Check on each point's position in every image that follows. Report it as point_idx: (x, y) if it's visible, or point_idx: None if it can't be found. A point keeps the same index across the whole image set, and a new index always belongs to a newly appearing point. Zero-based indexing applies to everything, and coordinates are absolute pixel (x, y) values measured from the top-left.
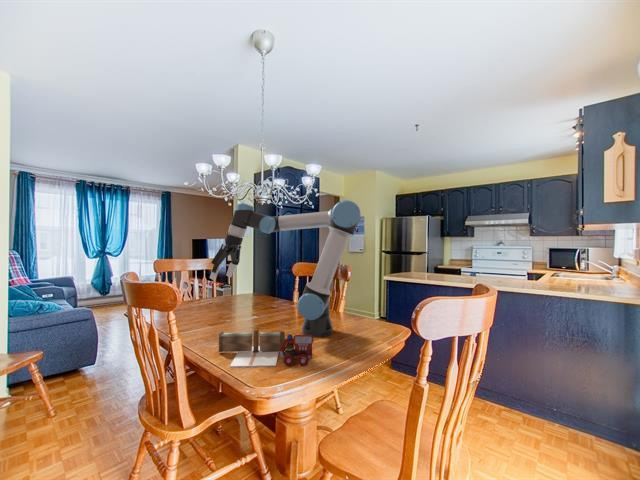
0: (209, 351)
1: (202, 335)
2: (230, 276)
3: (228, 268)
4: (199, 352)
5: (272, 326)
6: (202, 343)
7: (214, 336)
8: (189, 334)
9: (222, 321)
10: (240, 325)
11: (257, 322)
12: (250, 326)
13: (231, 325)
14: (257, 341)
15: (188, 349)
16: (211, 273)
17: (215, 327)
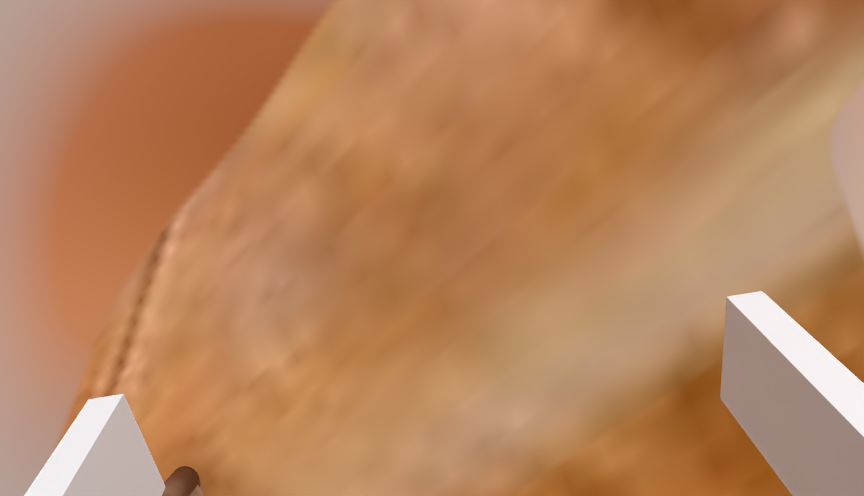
0: (182, 394)
1: (387, 131)
2: (728, 403)
3: (839, 417)
4: (144, 351)
5: (769, 472)
6: (264, 255)
7: (405, 227)
8: (365, 22)
9: (749, 4)
10: (702, 228)
11: (827, 304)
12: (708, 317)
13: (676, 160)
14: None
15: (149, 254)
16: (37, 492)
17: (582, 76)
